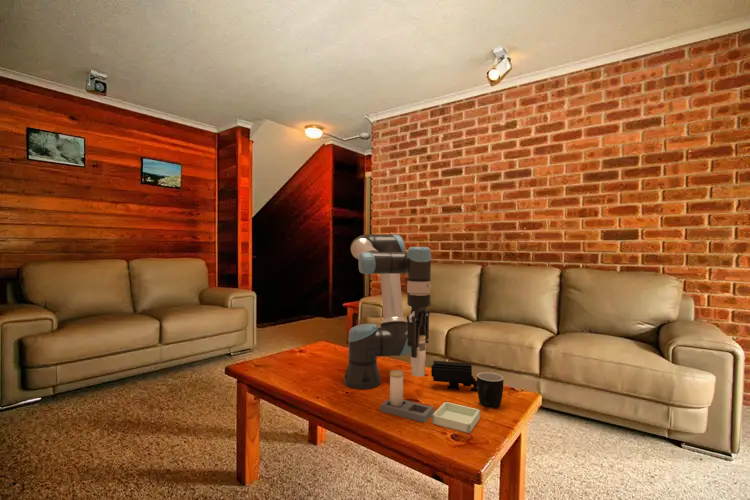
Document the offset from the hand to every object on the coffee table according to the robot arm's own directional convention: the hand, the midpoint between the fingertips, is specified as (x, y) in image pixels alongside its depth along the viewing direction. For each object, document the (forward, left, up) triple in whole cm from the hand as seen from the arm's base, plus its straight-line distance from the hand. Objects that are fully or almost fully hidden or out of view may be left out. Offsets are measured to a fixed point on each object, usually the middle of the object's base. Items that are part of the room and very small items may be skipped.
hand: (418, 364), depth 119 cm
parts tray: (+12, +3, -17) cm, 21 cm away
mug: (+18, +20, -17) cm, 32 cm away
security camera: (+3, +29, -17) cm, 34 cm away
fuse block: (-4, 0, -17) cm, 17 cm away
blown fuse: (0, 0, -3) cm, 3 cm away
